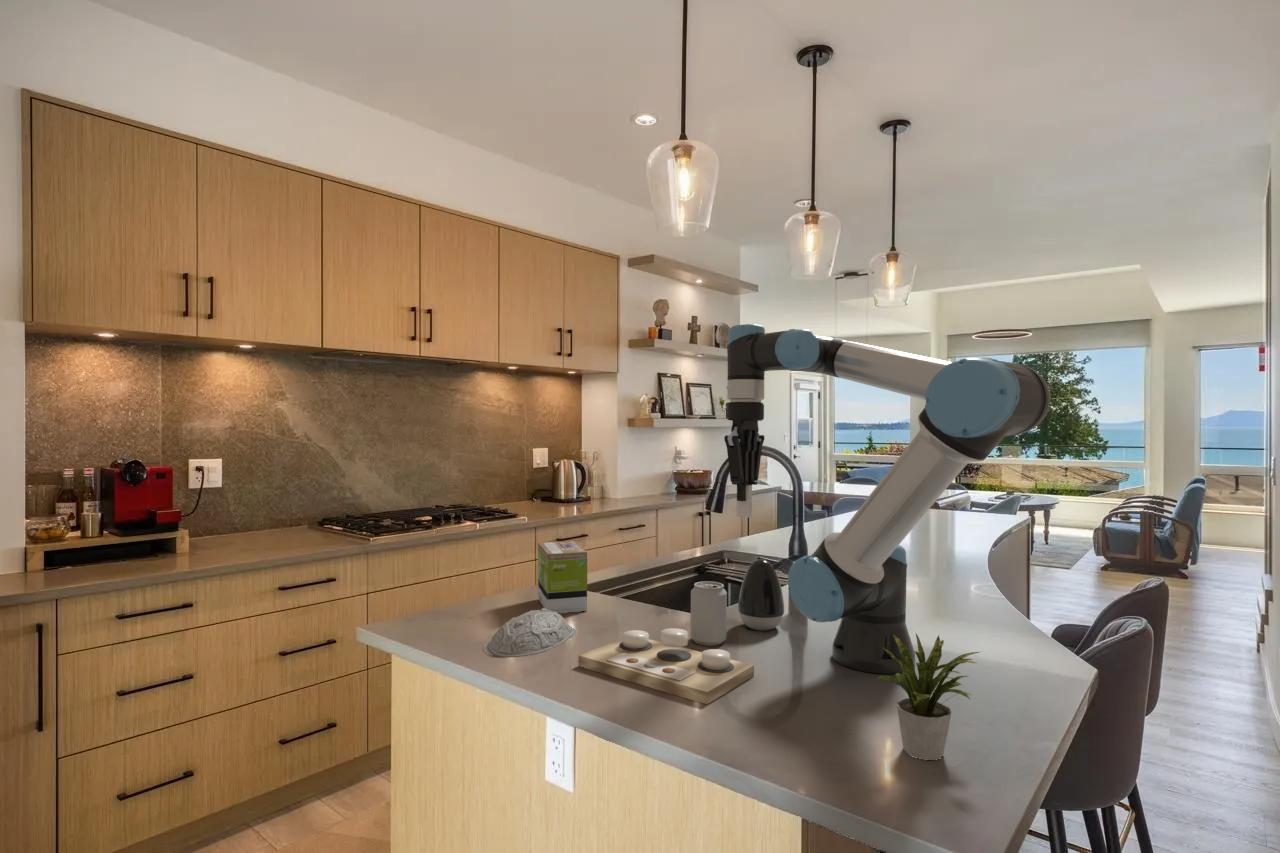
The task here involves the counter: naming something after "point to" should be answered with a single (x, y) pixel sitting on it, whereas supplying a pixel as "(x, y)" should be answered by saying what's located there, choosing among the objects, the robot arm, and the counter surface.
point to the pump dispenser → (761, 596)
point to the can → (708, 613)
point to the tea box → (562, 576)
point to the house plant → (925, 699)
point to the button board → (666, 669)
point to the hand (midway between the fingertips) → (744, 516)
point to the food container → (530, 634)
